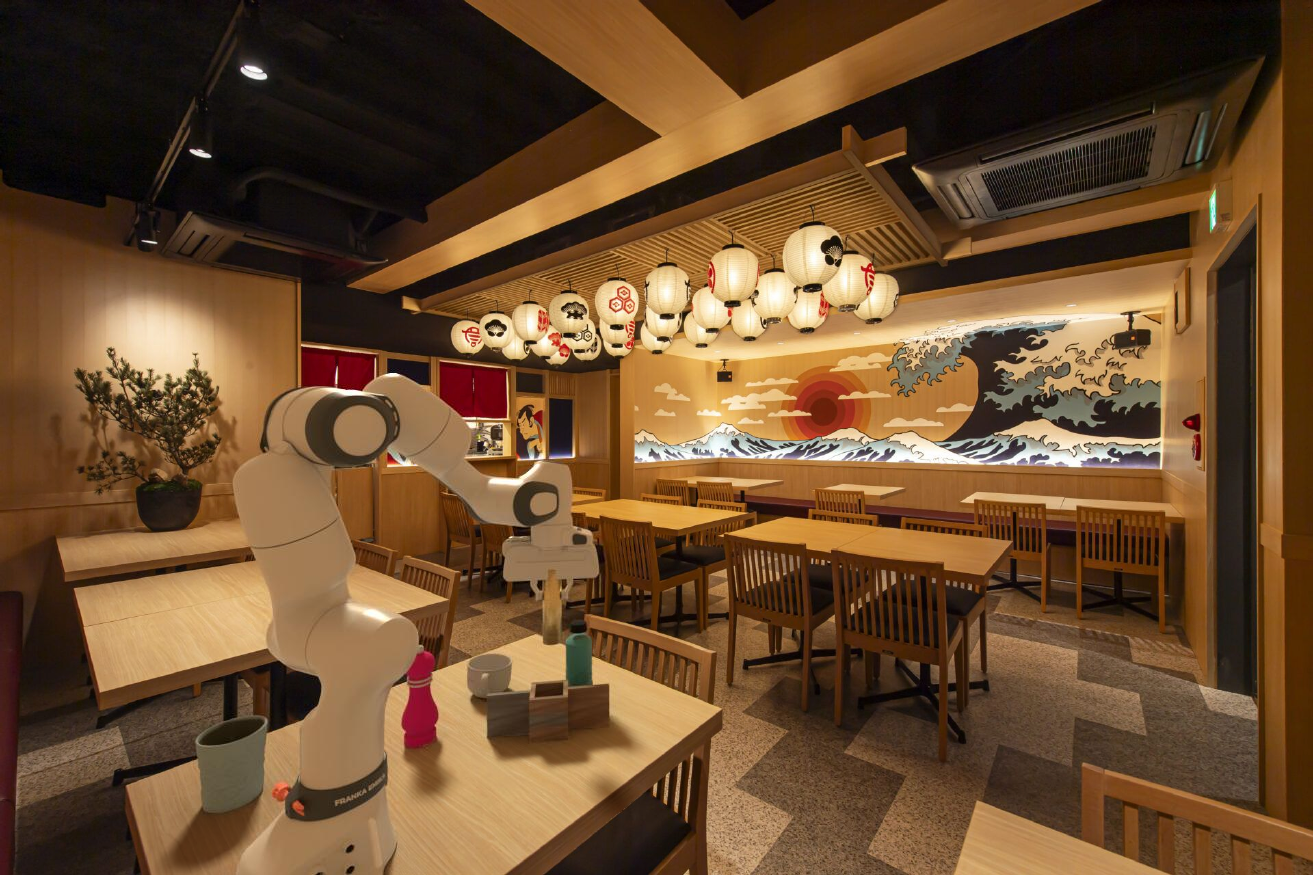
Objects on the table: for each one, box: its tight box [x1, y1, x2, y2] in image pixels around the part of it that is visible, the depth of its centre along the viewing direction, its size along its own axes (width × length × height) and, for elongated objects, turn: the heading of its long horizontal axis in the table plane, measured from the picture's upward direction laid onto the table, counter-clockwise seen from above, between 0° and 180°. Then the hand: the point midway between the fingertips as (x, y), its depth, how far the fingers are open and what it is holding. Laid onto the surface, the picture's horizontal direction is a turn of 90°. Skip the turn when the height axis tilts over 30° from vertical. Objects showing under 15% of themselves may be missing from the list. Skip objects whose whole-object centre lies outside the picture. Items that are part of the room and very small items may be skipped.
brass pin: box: [542, 570, 563, 646], centre depth 114 cm, size 4×4×16 cm
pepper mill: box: [400, 644, 440, 749], centre depth 112 cm, size 7×7×20 cm
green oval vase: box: [195, 715, 268, 814], centre depth 94 cm, size 10×10×12 cm
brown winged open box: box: [486, 679, 611, 744], centre depth 115 cm, size 8×26×9 cm, turn 99°
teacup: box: [466, 652, 513, 699], centre depth 130 cm, size 14×11×8 cm
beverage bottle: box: [564, 619, 594, 687], centre depth 125 cm, size 6×7×20 cm
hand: (552, 599), depth 114 cm, fingers closed on brass pin, 4 cm apart
